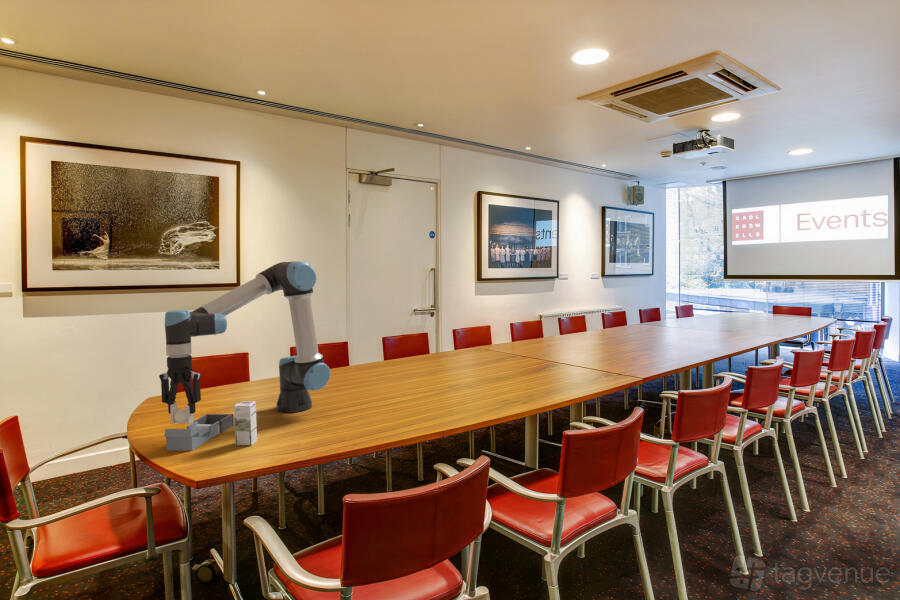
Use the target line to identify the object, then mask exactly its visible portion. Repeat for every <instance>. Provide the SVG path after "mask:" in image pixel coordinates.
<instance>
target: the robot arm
mask: <svg viewBox="0 0 900 600" xmlns="http://www.w3.org/2000/svg"><path fill="white" fill-rule="evenodd" d="M316 283H317V273H316V270H315V268H314V267H313V266H312V265H310V264H309V263H308V262H305V261H299V260H298V261H297V260H295V261H294V260H293V261H282V262H277V263H275V264H273V265H271V266H269V267H268V268H266V269H265V270H262V271H261V272H258V273H257V274H256V275H255V278H253V279H251V280H248V281H247V282H245V283H243V284H241V285H240V286H237V287H236V288H233V289H232V290H231V291H228V292H226V293H224V294H222V295H221V296H218V297H216V298H215V299H213V300H211V301H209V302H208V303H205V304H204V305H201V306H199V307H198V308H195V309H194V310H192V311H189V310H188V309H178V310H168V311H166V312H165V314H164V332H165V351H166V353H165V354H166V356H167V358H166V367H167V371H166V372H164V373H163V372H162V373H161V374H159V375H158V378H159V380H160V384H161V385H160V386H161V388H160V389H161V402H162V403H163V404H167V408H168V411H167V412H168V414H169V415H170V424H171V425H174V424H176V423H177V422H176V421H175V420H174V415H175V413H176V412H177V411H178V410H179V409H178V402H177V401H176V397H177V394H178V393H177V392H178V387H179V384H181V386H182V387H183V390H184V393H185V397H186V399H187V404H186V406H185V407H186V408H185V409H187V422H186V424H188V425H190V424H192V423H194V421H195V418H194V414H195V413H196V403H197V404H198V402H200V401H201V400H202V394H201V393H202V391H201V377H202V373H201V372H195V371H194V369H193V368H192V367H193V356H192V355H191V354H192V338H194V337H203V336H212V335H213V336H214V335H215V336H217V335H221V334H225V332H226V331H227V329H228V321H227V318H226V317H227V315H230V314H232V313H233V312H236V311H237V310H239V309H241V308H242V307H244V306H246V305H247V304H249V303H250V304H251V302H253V301H255V300H257V299H258V298H260V297H261V298H262V296H264V295H271V294H273V293H275V292H278V291H282V293H283V296H284V298H286V299H287V300H288V304H289V309H290V310H289V311H290V318H291V323H292V324H291V325H292V330H293V335H294V336H293V337H294V342H295V348H296V355H292V356H286V357H281V358H280V359H279V361H278V370H279V371H278V372H279V393H278V398H277V401H276V404H275V405H276V406H275V407H276V408H275V409H276V411H277V412H279V413H298V412H299V413H300V412H303V411H307V410H309V409H310V410H311V408H313V400H312V397H311V394H310V392H309V391H319V390H321V389H323V388H325V386H326V385H327V384H328V382H330V378H331V370H330V367H329V365H328V364H326V363H325V361H324V355H323V354H321V353H320V352H319V347H318V340H317V333H316V327H315V320H314V313H313V307H312V301H311V296H312V295H313V294H314V289H313V287H315V284H316ZM169 379H170V380H169ZM191 379H192V380H191Z"/></svg>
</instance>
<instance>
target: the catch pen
mask: <svg viewBox="0 0 900 600" xmlns="http://www.w3.org/2000/svg"><path fill="white" fill-rule="evenodd" d="M196 421H198V424H214V423H216V422H217V421H219V427H220V433H219V434H223V433H224V432H225V431H227V430H229V429H230V428H231V427H234V413H207V414H204V415H202V416H200V417H199V418H196V419H194V422H196ZM194 422H193V423H194Z"/></svg>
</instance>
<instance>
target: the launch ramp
mask: <svg viewBox="0 0 900 600" xmlns="http://www.w3.org/2000/svg"><path fill="white" fill-rule="evenodd" d="M219 434H221V433H220V427H219V421H217V422H216V423H214V424H198V421H196V422H192V423H190V424H188V425H187V426H186V428H165V429H164V436H163V437H164V438H165V444H166V451H168V452H169V451H174V452H175V451H180V452H181V451H185V452H186V451H189V452H190V451H192V452H193V451H194V450H195V449H197V448H198V447H200V446H202V445H203V444H205V443H206V442H208V441H209V440H211V439H213V438H214V437H216V436H217V435H219Z"/></svg>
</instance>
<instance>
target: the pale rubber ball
mask: <svg viewBox="0 0 900 600" xmlns="http://www.w3.org/2000/svg"><path fill="white" fill-rule="evenodd" d="M174 420H175V421H176V423H177V424H187V409H186V408H180V409H178V411H177V412H176V413H175V415H174Z"/></svg>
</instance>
